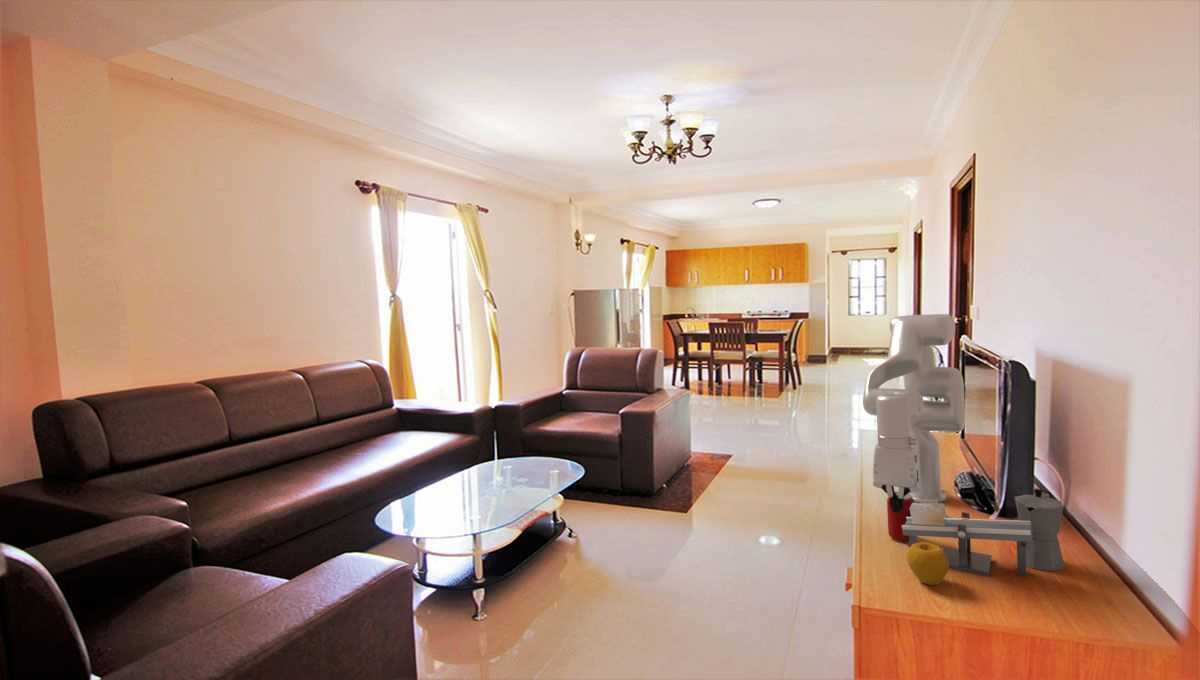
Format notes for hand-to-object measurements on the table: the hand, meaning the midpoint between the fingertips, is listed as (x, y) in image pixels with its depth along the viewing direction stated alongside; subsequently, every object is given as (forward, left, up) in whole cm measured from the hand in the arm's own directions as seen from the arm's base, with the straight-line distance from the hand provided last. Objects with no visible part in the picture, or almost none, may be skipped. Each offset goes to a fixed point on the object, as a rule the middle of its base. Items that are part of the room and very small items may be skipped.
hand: (897, 511), depth 142 cm
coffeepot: (-10, +29, -10) cm, 32 cm away
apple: (+14, +9, -10) cm, 19 cm away
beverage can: (-8, 0, -10) cm, 13 cm away
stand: (0, +15, -10) cm, 18 cm away
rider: (0, +8, -2) cm, 8 cm away
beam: (0, +15, -3) cm, 15 cm away
